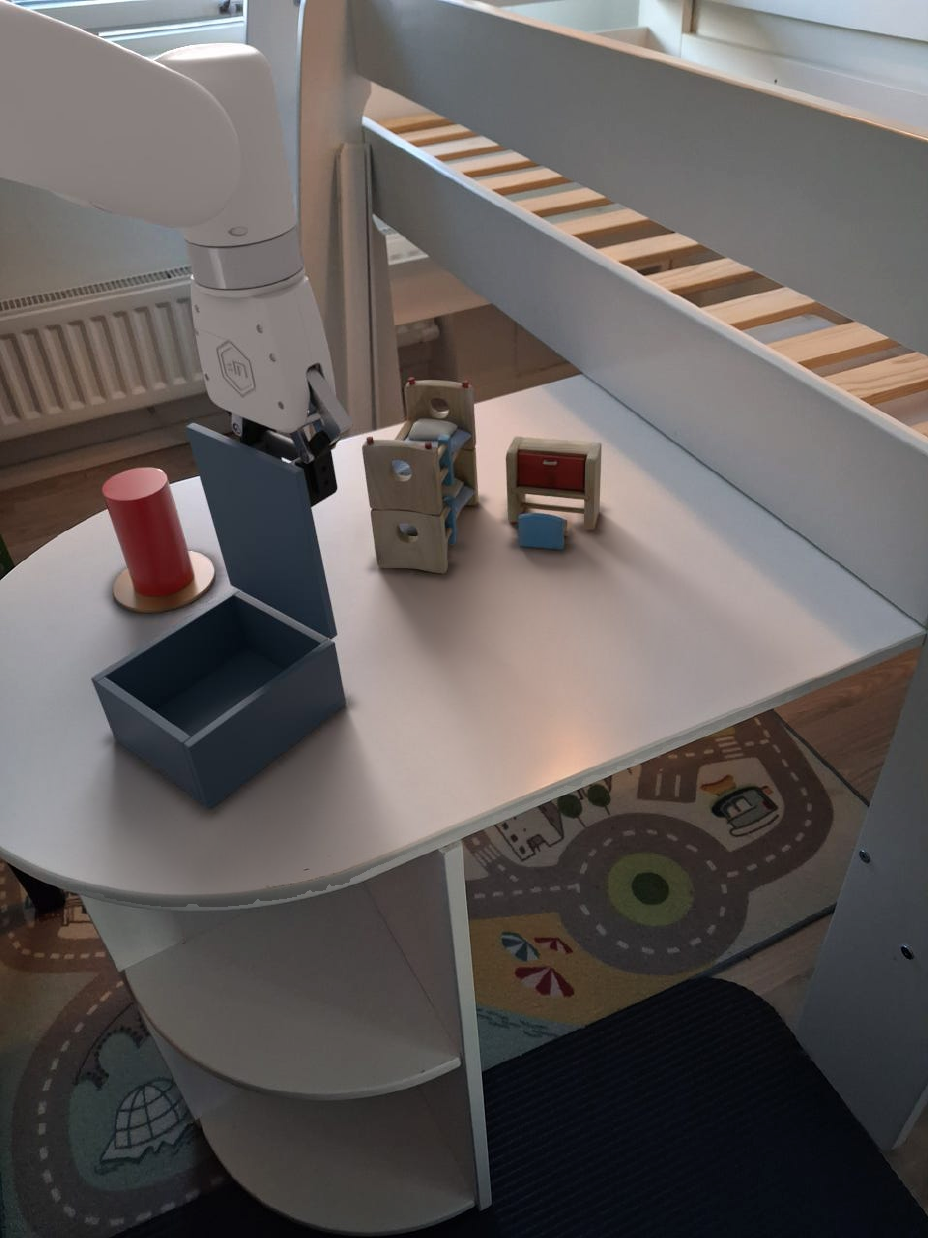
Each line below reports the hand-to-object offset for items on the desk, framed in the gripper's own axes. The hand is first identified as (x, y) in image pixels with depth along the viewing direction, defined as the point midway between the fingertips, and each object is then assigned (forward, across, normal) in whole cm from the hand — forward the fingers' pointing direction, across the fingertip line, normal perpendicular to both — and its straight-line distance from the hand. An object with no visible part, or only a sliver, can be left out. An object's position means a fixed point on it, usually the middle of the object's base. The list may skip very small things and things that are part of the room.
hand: (292, 484), depth 78 cm
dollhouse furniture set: (+18, +1, +23) cm, 29 cm away
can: (+17, -21, -2) cm, 27 cm away
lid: (+3, 0, -4) cm, 5 cm away
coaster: (+18, -21, -2) cm, 28 cm away
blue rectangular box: (+17, 0, -11) cm, 21 cm away
